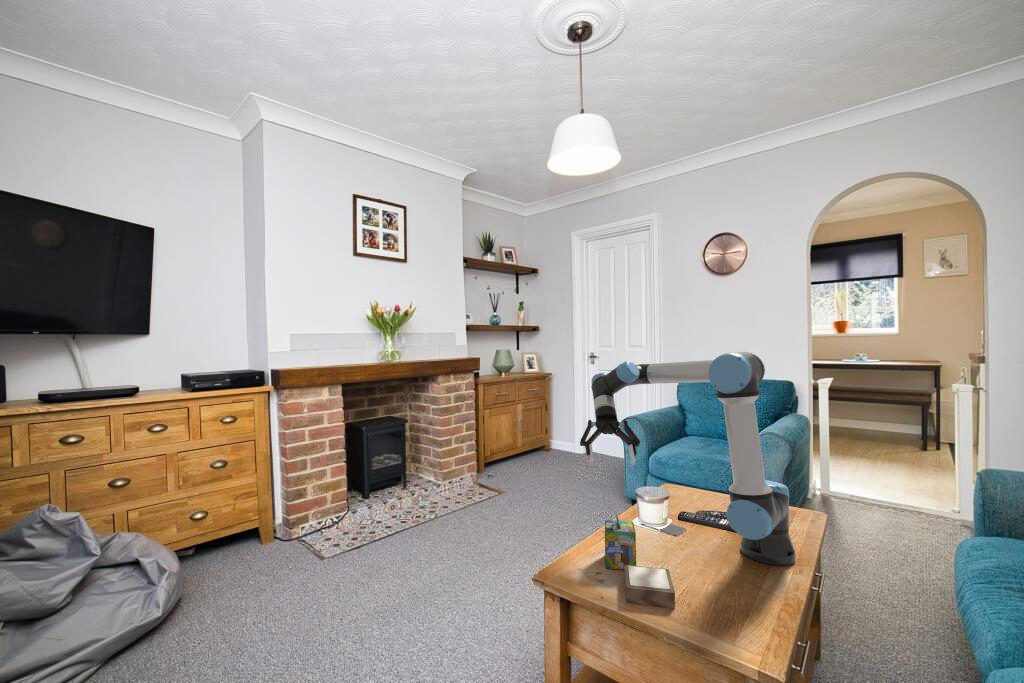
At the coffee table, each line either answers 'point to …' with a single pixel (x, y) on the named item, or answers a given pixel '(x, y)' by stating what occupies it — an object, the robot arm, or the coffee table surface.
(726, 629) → the coffee table surface
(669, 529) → the smartphone
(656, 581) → the base brick
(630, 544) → the chalk box
